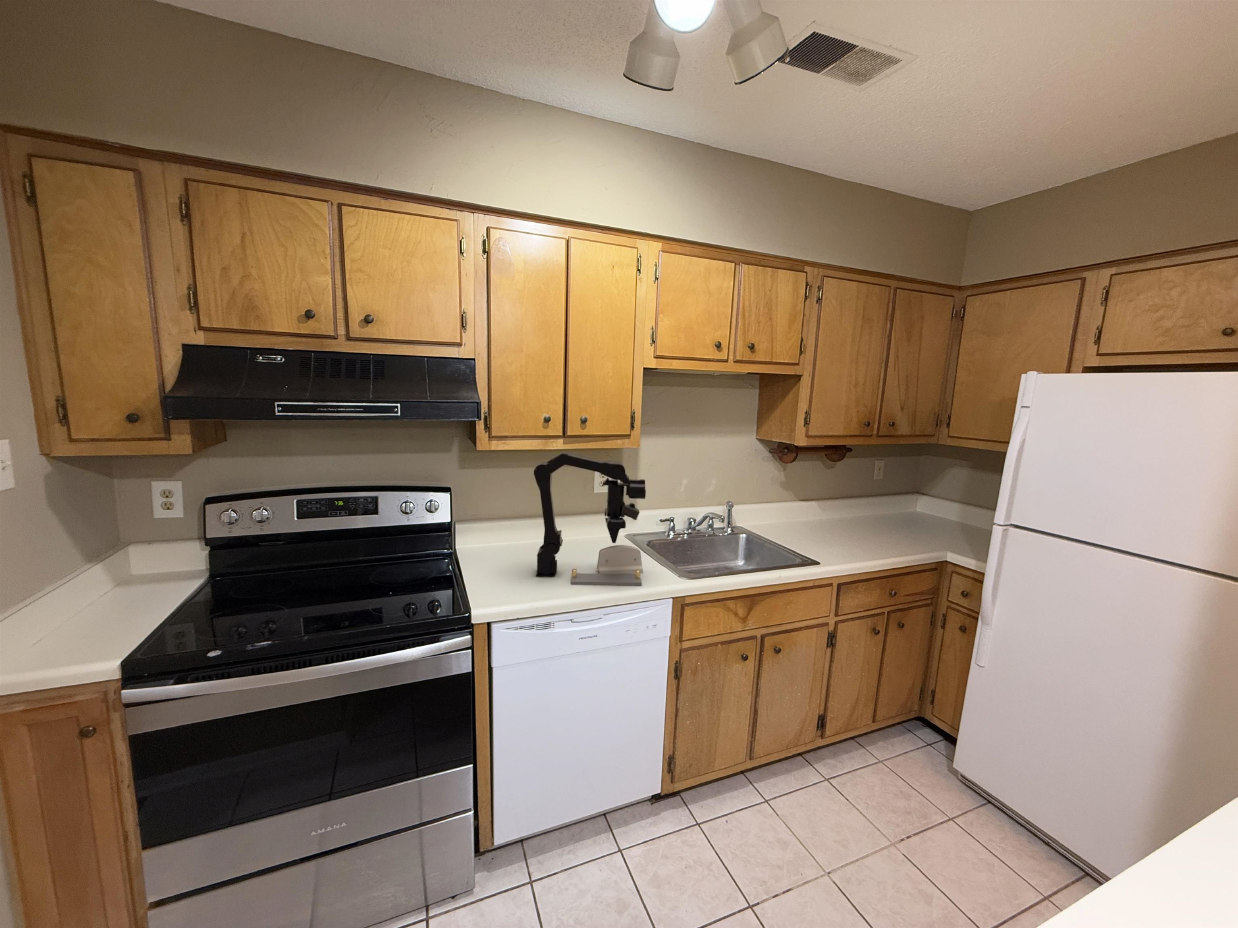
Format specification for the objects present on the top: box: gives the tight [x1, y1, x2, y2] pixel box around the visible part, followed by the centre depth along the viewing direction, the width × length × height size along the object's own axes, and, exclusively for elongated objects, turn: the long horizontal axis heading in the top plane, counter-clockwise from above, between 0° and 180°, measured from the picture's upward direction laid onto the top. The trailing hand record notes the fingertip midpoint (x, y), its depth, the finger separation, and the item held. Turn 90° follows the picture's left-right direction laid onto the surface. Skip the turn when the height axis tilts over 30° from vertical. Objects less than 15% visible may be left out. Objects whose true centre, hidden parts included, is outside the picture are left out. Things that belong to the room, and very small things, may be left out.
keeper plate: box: [570, 568, 643, 587], centre depth 173 cm, size 24×8×4 cm, turn 94°
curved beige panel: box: [596, 544, 644, 575], centre depth 183 cm, size 17×5×10 cm, turn 103°
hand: (613, 541), depth 177 cm, fingers open, 4 cm apart
